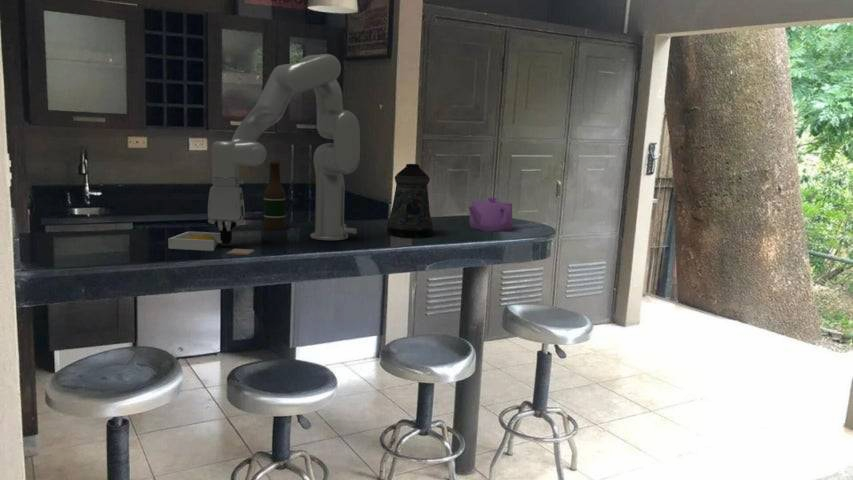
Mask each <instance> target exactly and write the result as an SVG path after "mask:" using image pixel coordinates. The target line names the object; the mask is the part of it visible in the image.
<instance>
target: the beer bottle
mask: <svg viewBox="0 0 853 480" xmlns="http://www.w3.org/2000/svg"><path fill="white" fill-rule="evenodd" d="M268 165H269V178H268V179H269V180H268V184H267V186H265V189H264V191H263V228H264V229H265V230H266V231H267V230H268V231H282V229H283V230H285V229H286V226H287V225H286V224H287V221H286V220H287V211H286V210H287V208H286V207H287V204H286V203H287V201H286V199H287V196H286V191H285V188H284V187H283V186H282V184H281V174H280V166H281V163H280V161H276V160H275V161H273V160H272V161H270V162H269V164H268Z"/></svg>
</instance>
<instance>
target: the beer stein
mask: <svg viewBox="0 0 853 480" xmlns="http://www.w3.org/2000/svg"><path fill="white" fill-rule="evenodd" d="M430 179H431V178H430V177H429V175H428V174H427V173H426V172H425V171H423V169H422V168H421V167H420V164H418V163H406V166H405V167H404V168H402V169H401V170H400V171H398V172H397V174H396V175H395V176H394V181H395V190H394V194H393V200H392V206H391V211H390V215H389V218H388V221H387V222H386V230H387V234H388V236H390V237H393V238H402V239H424V238H430V237H432V234H433V233H432V232H433V229H434V225H433V222H432V219H431V213H430V211H431V210H430V201H429V189H428V185H429V183H430Z"/></svg>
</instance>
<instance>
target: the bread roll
mask: <svg viewBox="0 0 853 480" xmlns="http://www.w3.org/2000/svg"><path fill="white" fill-rule="evenodd" d="M187 239H199V240H214V249H215V248H216V247H217V246H218V243H217V241H216V239H215V238H213V237H212V236H210V235H203V236H201V235H192V236H190V237H188V238H187Z"/></svg>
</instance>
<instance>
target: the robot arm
mask: <svg viewBox="0 0 853 480" xmlns="http://www.w3.org/2000/svg"><path fill="white" fill-rule="evenodd" d="M341 72H342V66H341V62H340V61H339V59H338V58H337V57H336V56H335V55H333V54H329V53H324V54H323V53H321V54H310V55H306V56H303V57H302V58H301V59H300V60H299V61H298V62H296V63H287V64H286V63H285V64H280V65H277V66H276V67H274V68H273V70H272V72H271V73H270V75H269V77H268V80H267V81H266V83H265V85H264V88H263V90H262V92H261V94H260V96H259V98H258V100H257V103H256V104H255V106H254V107H253V108H252V109H251V110H250V112H248V114H246V116H245V117H244V119H243V120H242V121H241V122H240V123H239V124H238V127H237V128H236V129H235V132H234V134H233V136H232V139H231V140H229V141H228V140H216V141H214V142H213V143H212V145H211V163H212V166H211V167H212V177H211V178H212V186H210V188H209V192H208V201H207V217H208V219H207V222H208V224H211V225H215V226H216V227H217V229H218V230H219V231H220V232H219V233H220V240H221V241H222V243H221V244H222V245H224V244H225V245H227V244H228V245H229V244H231V242H232V238H233V230H234V229H235V228H236V226H237V227H238V226H241V225H243V224H245V221H244V219H245V215H246V214H245V209H246V208H245V201H244V199H245V198H244V194H243V189H242V187H240V185H243V184H244V179H240V176H239V175H240V173H239V171H240V169H239V167H240V166H249V167H257V166H260V165H262V164H263V163H264V162H265V161H266V160H267V150H266V147H265V146H264V145H263V144H262V143H260V142H258V141H257V140H258V139H259V137H260V136H261V135H262V134H263V133H264V132H265V131H266V130H267V129H268V128H270V127H272V126H273V125H275V124H277V123H278V122H279V121H281V119H282V118H283V115H284V114H285V112H286V110H287V108H288V105H289V103H290V101H291V98H292V97H293V95H294V94H295V93H302V92H306V91H310V90H313V92H314V94H315V101H316V102H315V103H316V129H317V132H318V134H319V136H321V138H324V139H327V140H328V139H329V140H333V142H332V143H331V142H327V143H323V144H320V145H319V146H318V147H316V149H315V151H314V152H313V153H314V154H313V167H314V173H315V222H314V225H315V227H314V228H315V229H314V230H315V232H312V233H310V238H311V239H312V240H319V241H342V240H343V241H344V240H347V239H349V234H350V235H356V234H357V230H358V229H357V228H354V227H348V226H347V224H346V223H345V192H346V191H345V189H346V187H345V178H344V175H349V174H352V173H354V172H355V171H356V170H357V169H358V166H359V165H360V164H359V163H360V159H361V139H360V138H361V135H360V133H361V132H360V131H361V130H360V123H359V120H358V118H357V116H356V115H355V114H354V113H353V112H351V111H350V110H347V109H344V103H343V92H342V88H341V86H340V83H339V82H338V80H337V79H338V78H339V77H340V74H341Z"/></svg>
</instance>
